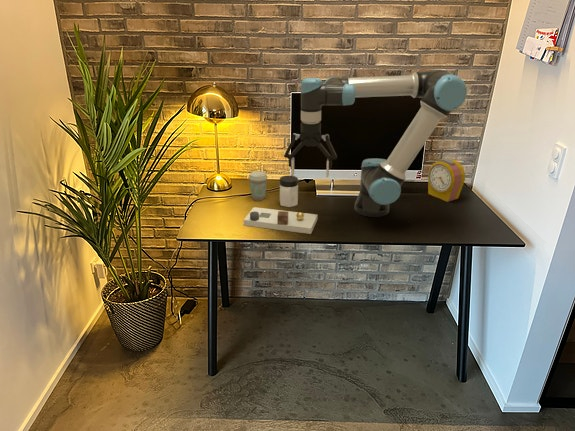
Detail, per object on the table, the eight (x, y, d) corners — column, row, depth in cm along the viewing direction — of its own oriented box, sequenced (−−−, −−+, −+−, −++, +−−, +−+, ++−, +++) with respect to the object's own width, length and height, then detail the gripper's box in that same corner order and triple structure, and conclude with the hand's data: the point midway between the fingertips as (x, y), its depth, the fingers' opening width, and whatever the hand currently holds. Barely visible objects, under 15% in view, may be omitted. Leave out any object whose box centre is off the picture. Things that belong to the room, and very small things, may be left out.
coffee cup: (250, 202, 207) (250, 177, 202) (247, 195, 214) (247, 171, 209) (269, 200, 209) (269, 176, 204) (265, 193, 216) (265, 170, 211)
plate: (317, 220, 191) (317, 214, 190) (310, 233, 180) (311, 228, 179) (253, 212, 197) (253, 207, 196) (243, 225, 186) (243, 219, 185)
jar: (285, 208, 201) (285, 183, 196) (275, 202, 207) (275, 177, 202) (301, 204, 206) (302, 179, 200) (291, 198, 212) (292, 174, 207)
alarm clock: (424, 192, 219) (429, 156, 211) (435, 189, 223) (441, 153, 215) (449, 203, 208) (456, 165, 200) (461, 199, 212) (468, 162, 204)
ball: (304, 218, 187) (304, 211, 185) (302, 221, 184) (303, 214, 182) (297, 217, 187) (297, 210, 186) (295, 220, 185) (295, 213, 183)
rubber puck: (260, 217, 187) (260, 212, 186) (257, 221, 184) (257, 215, 183) (251, 216, 188) (251, 211, 187) (248, 220, 185) (248, 214, 184)
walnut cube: (288, 220, 185) (288, 211, 183) (287, 224, 181) (287, 215, 179) (278, 220, 185) (278, 211, 183) (277, 224, 181) (277, 215, 180)
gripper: (344, 120, 171) (342, 173, 180) (279, 118, 174) (280, 170, 183) (344, 125, 164) (341, 180, 173) (276, 123, 168) (277, 177, 177)
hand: (310, 175), depth 178 cm, fingers open, 13 cm apart
